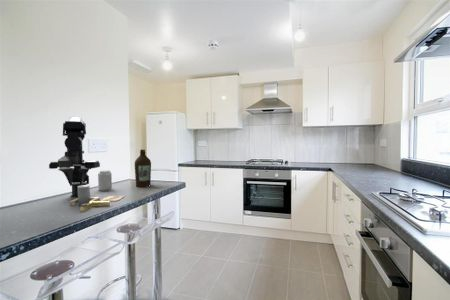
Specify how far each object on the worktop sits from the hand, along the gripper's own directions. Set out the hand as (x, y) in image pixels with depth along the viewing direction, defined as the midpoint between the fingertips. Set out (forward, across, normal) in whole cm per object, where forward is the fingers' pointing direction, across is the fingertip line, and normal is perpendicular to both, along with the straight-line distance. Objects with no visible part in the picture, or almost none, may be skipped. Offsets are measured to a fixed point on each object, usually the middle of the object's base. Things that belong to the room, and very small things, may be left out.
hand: (75, 183), depth 99 cm
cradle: (+12, -2, +12) cm, 17 cm away
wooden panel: (+12, +8, +18) cm, 23 cm away
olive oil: (+12, +15, +51) cm, 55 cm away
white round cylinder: (+12, -2, +10) cm, 16 cm away
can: (+12, -6, +42) cm, 44 cm away
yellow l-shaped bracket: (+12, +7, +3) cm, 14 cm away
